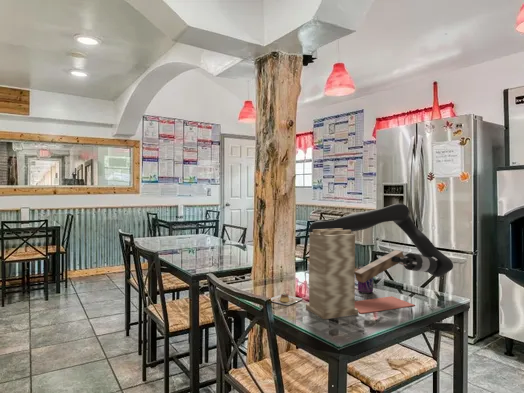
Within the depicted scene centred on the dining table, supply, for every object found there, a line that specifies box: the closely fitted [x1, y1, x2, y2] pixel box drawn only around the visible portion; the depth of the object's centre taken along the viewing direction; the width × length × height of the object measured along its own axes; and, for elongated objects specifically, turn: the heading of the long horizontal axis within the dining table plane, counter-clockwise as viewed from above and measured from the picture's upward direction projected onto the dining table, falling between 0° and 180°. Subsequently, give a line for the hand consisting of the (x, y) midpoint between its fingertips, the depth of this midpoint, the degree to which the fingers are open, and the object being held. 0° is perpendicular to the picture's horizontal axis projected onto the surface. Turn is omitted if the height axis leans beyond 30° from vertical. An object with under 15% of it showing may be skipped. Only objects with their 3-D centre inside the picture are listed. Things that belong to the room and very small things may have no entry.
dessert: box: [270, 291, 303, 306], centre depth 164 cm, size 12×12×5 cm
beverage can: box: [357, 265, 374, 294], centre depth 179 cm, size 7×7×12 cm
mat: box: [355, 295, 416, 315], centre depth 158 cm, size 28×14×1 cm, turn 112°
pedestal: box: [305, 228, 359, 320], centre depth 149 cm, size 16×14×34 cm
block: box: [355, 249, 405, 283], centre depth 155 cm, size 24×4×4 cm, turn 115°
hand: (388, 257), depth 157 cm, fingers closed on block, 4 cm apart
